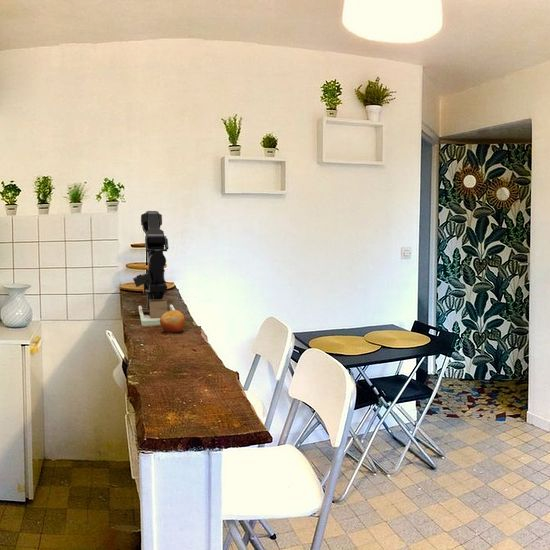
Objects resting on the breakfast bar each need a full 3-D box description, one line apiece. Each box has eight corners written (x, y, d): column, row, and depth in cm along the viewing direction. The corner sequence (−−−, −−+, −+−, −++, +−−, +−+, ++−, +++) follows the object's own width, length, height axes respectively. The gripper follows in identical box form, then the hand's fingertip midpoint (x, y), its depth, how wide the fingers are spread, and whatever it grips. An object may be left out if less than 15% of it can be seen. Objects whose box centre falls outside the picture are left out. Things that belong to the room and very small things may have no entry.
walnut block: (149, 315, 191) (149, 299, 190) (165, 314, 193) (165, 298, 192) (150, 318, 185) (150, 302, 184) (167, 317, 187) (167, 301, 186)
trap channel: (138, 312, 201) (138, 306, 201) (172, 310, 205) (172, 304, 205) (142, 328, 173) (141, 321, 172) (180, 325, 177) (180, 319, 176)
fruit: (189, 323, 173) (186, 306, 168) (184, 340, 167) (180, 322, 162) (166, 323, 174) (162, 305, 169) (160, 339, 168) (155, 321, 163)
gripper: (133, 264, 199) (134, 304, 200) (134, 269, 181) (135, 312, 183) (162, 264, 202) (163, 303, 204) (166, 268, 184) (167, 311, 186)
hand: (157, 307), depth 194 cm, fingers closed
